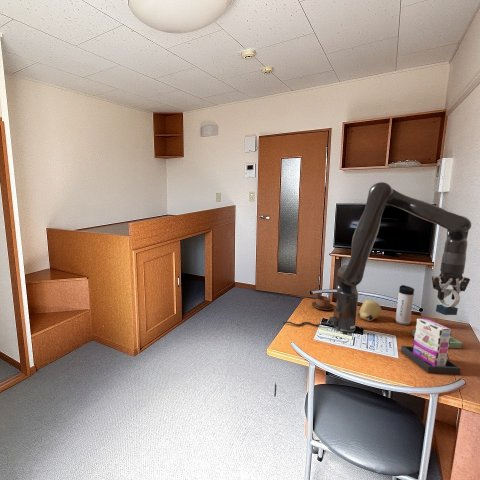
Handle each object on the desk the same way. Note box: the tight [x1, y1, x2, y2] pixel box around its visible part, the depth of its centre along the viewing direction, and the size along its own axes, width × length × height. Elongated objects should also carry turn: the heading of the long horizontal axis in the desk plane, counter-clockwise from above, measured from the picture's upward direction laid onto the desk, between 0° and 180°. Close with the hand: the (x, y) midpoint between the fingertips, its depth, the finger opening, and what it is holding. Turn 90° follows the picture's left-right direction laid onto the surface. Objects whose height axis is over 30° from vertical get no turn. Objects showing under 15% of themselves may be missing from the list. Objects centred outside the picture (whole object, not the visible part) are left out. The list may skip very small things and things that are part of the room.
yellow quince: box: [357, 299, 382, 322], centre depth 174 cm, size 10×12×11 cm
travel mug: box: [395, 284, 415, 326], centre depth 168 cm, size 6×7×20 cm
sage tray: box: [411, 330, 463, 349], centre depth 148 cm, size 14×12×3 cm
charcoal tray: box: [400, 345, 462, 375], centre depth 132 cm, size 12×17×3 cm
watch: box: [435, 287, 461, 316], centre depth 139 cm, size 6×8×11 cm
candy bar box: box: [412, 318, 452, 366], centre depth 130 cm, size 11×5×16 cm, turn 5°
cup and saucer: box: [311, 295, 335, 311], centre depth 190 cm, size 12×12×6 cm
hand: (447, 299), depth 139 cm, fingers closed on watch, 4 cm apart
